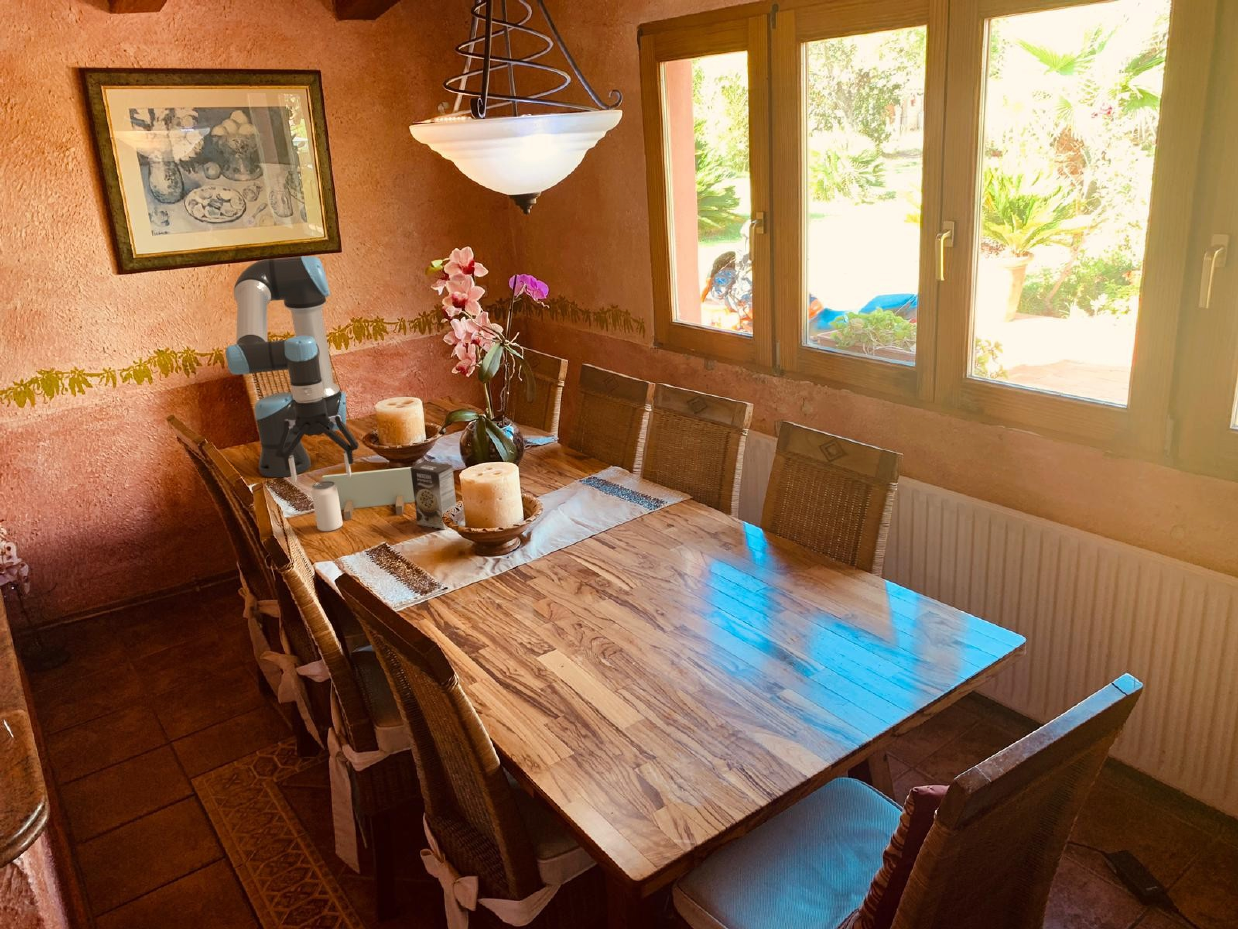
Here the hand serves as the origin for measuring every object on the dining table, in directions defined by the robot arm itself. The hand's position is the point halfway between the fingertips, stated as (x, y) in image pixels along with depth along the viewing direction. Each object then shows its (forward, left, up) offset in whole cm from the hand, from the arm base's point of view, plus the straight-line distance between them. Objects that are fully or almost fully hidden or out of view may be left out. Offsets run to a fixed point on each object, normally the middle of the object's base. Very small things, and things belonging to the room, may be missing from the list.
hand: (322, 478), depth 238 cm
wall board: (-8, +11, -14) cm, 19 cm away
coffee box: (+5, +28, -14) cm, 32 cm away
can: (0, 0, -14) cm, 14 cm away
